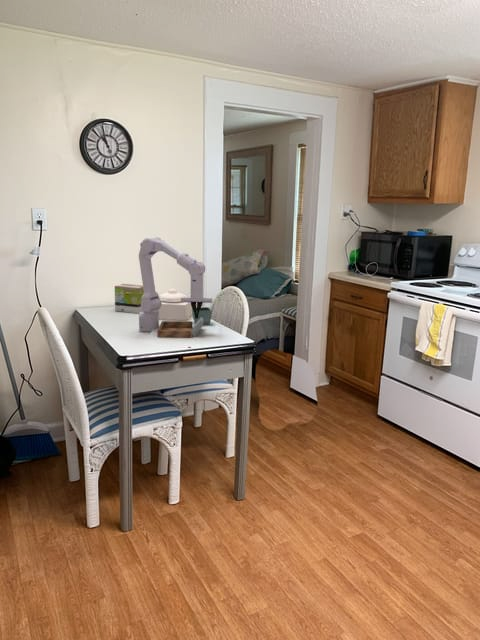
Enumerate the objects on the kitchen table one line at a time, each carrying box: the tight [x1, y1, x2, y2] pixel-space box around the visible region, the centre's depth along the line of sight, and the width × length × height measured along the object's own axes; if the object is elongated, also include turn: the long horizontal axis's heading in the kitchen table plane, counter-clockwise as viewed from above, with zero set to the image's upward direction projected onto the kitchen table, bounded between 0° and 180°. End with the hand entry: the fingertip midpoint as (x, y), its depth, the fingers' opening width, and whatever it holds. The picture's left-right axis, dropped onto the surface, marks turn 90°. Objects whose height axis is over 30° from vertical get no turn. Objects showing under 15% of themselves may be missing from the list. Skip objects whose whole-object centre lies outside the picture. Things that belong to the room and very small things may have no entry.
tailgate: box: [192, 317, 204, 337], centre depth 235 cm, size 2×17×6 cm
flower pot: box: [192, 306, 213, 326], centre depth 254 cm, size 9×9×9 cm
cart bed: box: [156, 320, 195, 339], centre depth 235 cm, size 16×20×4 cm
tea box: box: [114, 283, 144, 314], centre depth 286 cm, size 15×10×15 cm, turn 73°
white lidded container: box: [159, 287, 193, 321], centre depth 274 cm, size 18×18×16 cm
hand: (196, 318), depth 234 cm, fingers closed
